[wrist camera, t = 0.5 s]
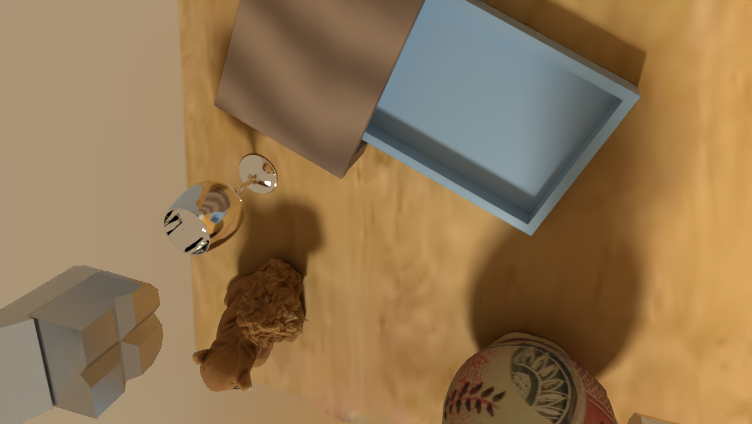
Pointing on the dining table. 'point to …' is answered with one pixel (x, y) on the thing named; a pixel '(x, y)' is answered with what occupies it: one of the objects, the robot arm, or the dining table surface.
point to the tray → (496, 110)
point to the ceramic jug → (525, 386)
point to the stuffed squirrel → (253, 325)
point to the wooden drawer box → (314, 71)
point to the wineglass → (215, 208)
